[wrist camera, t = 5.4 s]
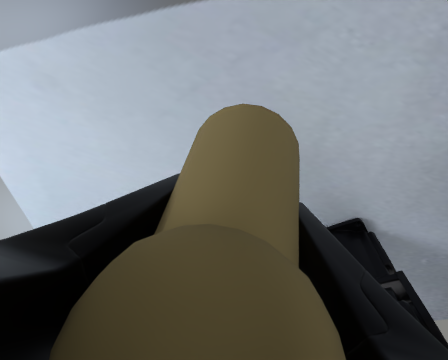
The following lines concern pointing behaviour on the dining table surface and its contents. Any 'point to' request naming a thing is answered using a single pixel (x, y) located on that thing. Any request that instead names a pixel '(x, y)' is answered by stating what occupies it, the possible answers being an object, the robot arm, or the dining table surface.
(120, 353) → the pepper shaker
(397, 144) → the dining table surface
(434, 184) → the dining table surface
